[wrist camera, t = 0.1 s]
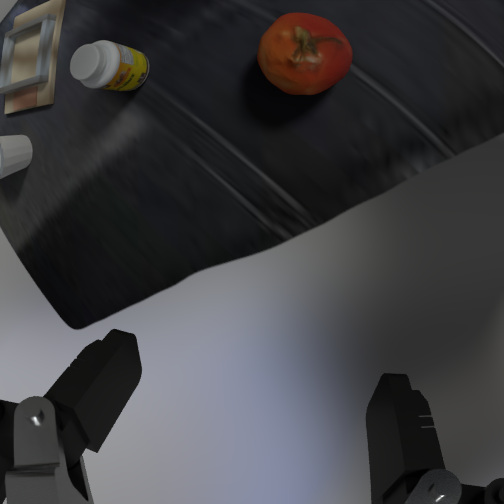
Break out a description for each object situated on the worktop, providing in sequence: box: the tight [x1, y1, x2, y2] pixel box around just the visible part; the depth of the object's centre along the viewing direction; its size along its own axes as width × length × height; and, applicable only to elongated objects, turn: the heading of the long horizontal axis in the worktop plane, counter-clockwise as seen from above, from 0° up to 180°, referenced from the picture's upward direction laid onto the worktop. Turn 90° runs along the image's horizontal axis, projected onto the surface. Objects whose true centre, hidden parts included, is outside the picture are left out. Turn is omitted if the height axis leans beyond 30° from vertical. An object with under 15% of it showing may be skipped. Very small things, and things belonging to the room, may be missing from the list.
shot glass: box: [0, 135, 33, 179], centre depth 37 cm, size 7×7×7 cm
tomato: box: [257, 13, 352, 95], centre depth 27 cm, size 9×9×8 cm
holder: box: [0, 0, 66, 114], centre depth 32 cm, size 18×12×3 cm, turn 176°
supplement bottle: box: [70, 40, 149, 91], centre depth 28 cm, size 6×6×10 cm
